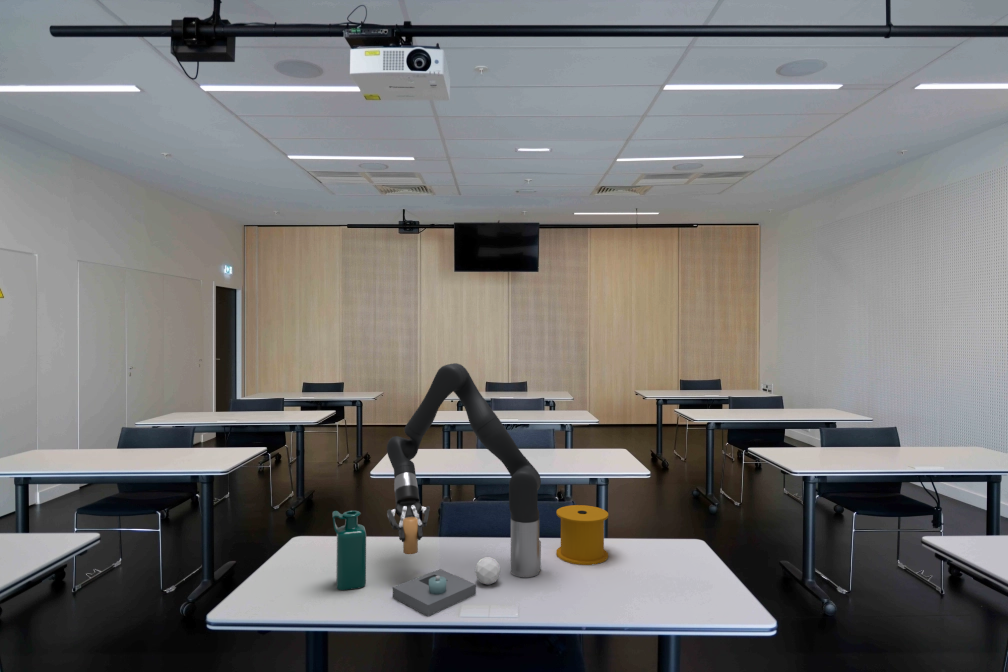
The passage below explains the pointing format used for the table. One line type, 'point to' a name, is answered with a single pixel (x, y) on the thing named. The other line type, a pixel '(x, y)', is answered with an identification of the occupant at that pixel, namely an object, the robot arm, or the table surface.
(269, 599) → the table surface
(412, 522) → the orange capsule
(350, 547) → the pitcher
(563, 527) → the spool
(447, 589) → the block
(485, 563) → the ball
